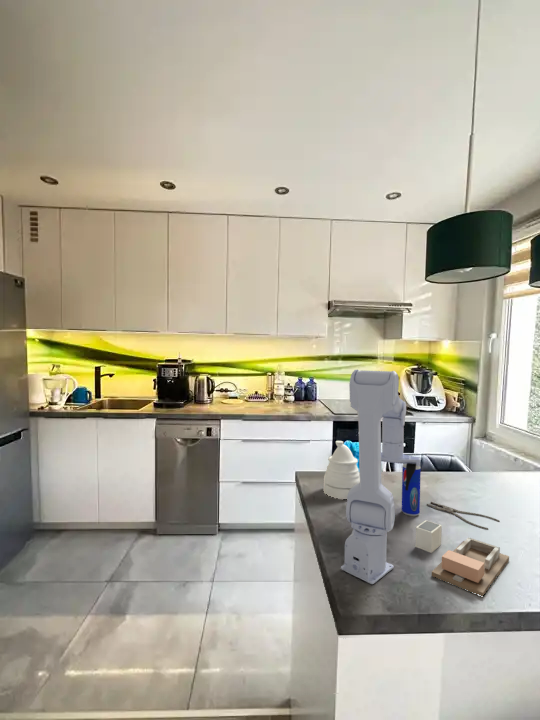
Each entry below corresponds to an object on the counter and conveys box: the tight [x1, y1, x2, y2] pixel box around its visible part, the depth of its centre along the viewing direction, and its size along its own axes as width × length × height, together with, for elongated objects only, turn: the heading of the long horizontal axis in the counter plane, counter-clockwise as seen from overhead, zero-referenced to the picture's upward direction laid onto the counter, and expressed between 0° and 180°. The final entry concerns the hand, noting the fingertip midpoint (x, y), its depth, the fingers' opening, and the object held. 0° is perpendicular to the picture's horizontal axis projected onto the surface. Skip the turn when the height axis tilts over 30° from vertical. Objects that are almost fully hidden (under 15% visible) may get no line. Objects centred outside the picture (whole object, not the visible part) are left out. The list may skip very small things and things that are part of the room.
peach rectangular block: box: [441, 549, 484, 583], centre depth 81 cm, size 4×7×3 cm, turn 45°
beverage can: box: [401, 464, 422, 517], centre depth 115 cm, size 5×5×15 cm
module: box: [414, 519, 443, 554], centre depth 95 cm, size 6×4×5 cm, turn 135°
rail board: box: [431, 536, 510, 596], centre depth 85 cm, size 20×10×3 cm, turn 135°
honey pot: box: [323, 440, 360, 500], centre depth 131 cm, size 13×13×18 cm
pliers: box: [426, 501, 500, 531], centre depth 113 cm, size 10×1×20 cm
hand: (392, 487), depth 108 cm, fingers open, 7 cm apart
